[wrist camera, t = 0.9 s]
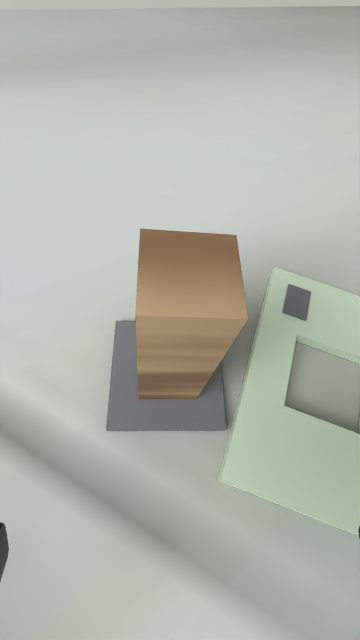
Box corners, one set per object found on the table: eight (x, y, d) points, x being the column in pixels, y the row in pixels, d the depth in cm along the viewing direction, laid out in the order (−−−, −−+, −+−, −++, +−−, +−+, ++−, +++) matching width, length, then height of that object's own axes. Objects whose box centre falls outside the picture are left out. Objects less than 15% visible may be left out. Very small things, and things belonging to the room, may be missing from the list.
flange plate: (400, 553, 19) (415, 557, 18) (217, 480, 20) (221, 480, 19) (398, 317, 28) (408, 311, 27) (270, 273, 28) (275, 265, 27)
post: (196, 399, 22) (248, 319, 11) (138, 399, 21) (135, 315, 11) (193, 346, 23) (236, 235, 13) (140, 345, 23) (140, 228, 12)
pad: (224, 430, 21) (226, 429, 21) (107, 430, 20) (106, 429, 20) (215, 327, 25) (217, 324, 25) (116, 324, 24) (115, 320, 24)
